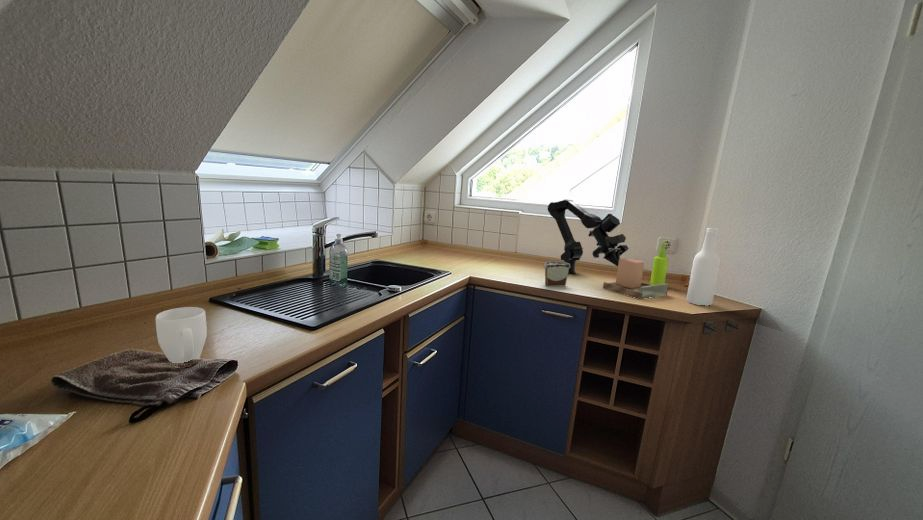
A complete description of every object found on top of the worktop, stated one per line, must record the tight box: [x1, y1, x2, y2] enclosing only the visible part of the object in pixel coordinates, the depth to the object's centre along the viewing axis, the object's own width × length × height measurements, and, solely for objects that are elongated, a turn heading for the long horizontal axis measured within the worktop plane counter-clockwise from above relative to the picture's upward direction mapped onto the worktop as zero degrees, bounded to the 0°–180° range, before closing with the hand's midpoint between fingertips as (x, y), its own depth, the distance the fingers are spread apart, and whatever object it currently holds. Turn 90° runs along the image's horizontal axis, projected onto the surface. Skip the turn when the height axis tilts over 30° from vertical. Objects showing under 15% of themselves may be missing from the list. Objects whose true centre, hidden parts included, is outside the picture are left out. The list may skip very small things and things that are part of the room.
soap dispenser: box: [649, 242, 669, 285], centre depth 174 cm, size 6×7×20 cm
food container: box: [543, 260, 570, 287], centre depth 165 cm, size 12×6×10 cm, turn 108°
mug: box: [155, 306, 208, 363], centre depth 77 cm, size 12×8×11 cm
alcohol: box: [686, 227, 721, 306], centre depth 146 cm, size 9×9×30 cm
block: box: [615, 257, 645, 288], centre depth 163 cm, size 8×6×11 cm
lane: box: [602, 281, 669, 300], centre depth 161 cm, size 18×19×5 cm
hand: (620, 266), depth 167 cm, fingers closed
